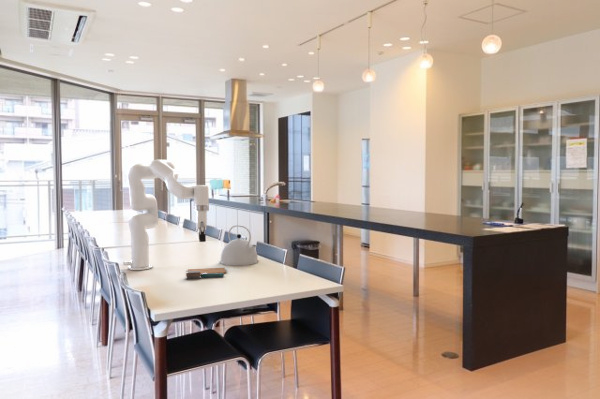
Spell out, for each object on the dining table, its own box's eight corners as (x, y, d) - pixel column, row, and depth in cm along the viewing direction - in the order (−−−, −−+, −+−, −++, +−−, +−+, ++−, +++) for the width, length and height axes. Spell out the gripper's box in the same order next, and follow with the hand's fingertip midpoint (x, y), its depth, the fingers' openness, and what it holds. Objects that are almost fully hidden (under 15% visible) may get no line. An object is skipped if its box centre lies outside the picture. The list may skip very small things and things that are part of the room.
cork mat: (187, 275, 245) (187, 273, 245) (188, 270, 257) (188, 269, 256) (225, 273, 249) (225, 272, 249) (224, 269, 261) (224, 267, 261)
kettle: (268, 261, 284) (267, 225, 283) (243, 267, 265) (243, 228, 264) (237, 257, 298) (237, 222, 297) (212, 262, 280) (212, 226, 278)
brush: (186, 279, 235) (186, 272, 235) (186, 277, 239) (186, 271, 239) (224, 277, 239) (224, 271, 239) (223, 275, 243) (223, 269, 243)
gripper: (194, 207, 249) (194, 238, 250) (194, 209, 233) (195, 243, 234) (208, 207, 251) (208, 238, 252) (209, 209, 234) (210, 242, 235)
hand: (202, 240), depth 243 cm, fingers open, 9 cm apart
